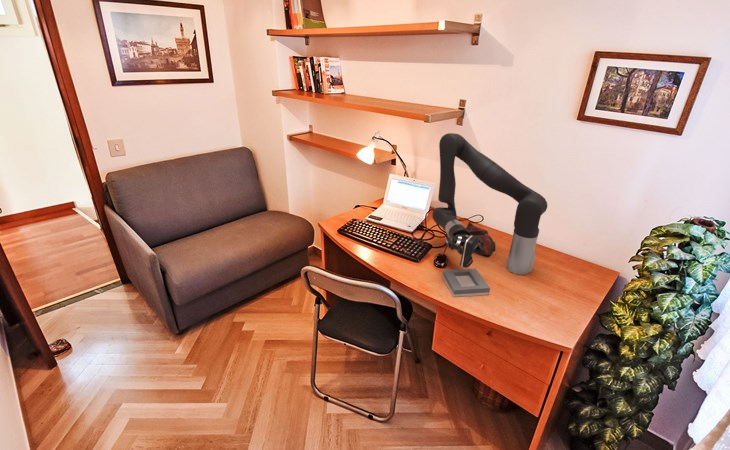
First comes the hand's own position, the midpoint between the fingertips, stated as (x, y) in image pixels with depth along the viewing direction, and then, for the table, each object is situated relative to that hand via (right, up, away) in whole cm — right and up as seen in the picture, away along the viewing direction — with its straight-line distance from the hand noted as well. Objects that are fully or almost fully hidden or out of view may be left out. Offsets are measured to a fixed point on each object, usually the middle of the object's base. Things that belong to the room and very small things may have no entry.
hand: (472, 252), depth 136 cm
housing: (0, -14, +9) cm, 16 cm away
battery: (0, -5, +5) cm, 7 cm away
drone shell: (+14, +1, +41) cm, 43 cm away
